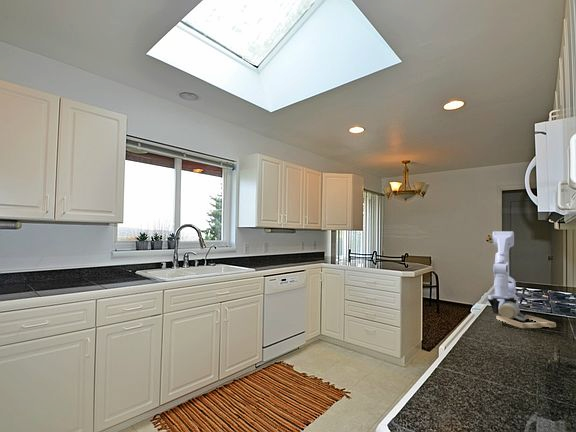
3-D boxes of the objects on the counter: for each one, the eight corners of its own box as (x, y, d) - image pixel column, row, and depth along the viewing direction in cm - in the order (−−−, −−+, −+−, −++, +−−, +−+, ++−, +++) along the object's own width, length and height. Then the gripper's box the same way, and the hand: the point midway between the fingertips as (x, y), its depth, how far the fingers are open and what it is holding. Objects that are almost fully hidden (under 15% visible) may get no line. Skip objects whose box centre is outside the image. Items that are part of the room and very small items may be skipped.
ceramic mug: (497, 317, 150) (497, 302, 150) (501, 314, 156) (501, 299, 156) (524, 323, 142) (524, 306, 143) (527, 319, 148) (527, 303, 148)
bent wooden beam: (527, 318, 150) (527, 314, 150) (556, 327, 136) (555, 322, 136) (496, 319, 147) (496, 315, 147) (522, 328, 133) (522, 323, 133)
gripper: (495, 288, 150) (496, 315, 149) (521, 287, 152) (521, 315, 151) (484, 285, 157) (485, 312, 156) (508, 285, 159) (509, 311, 158)
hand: (502, 313), depth 154 cm, fingers open, 7 cm apart
